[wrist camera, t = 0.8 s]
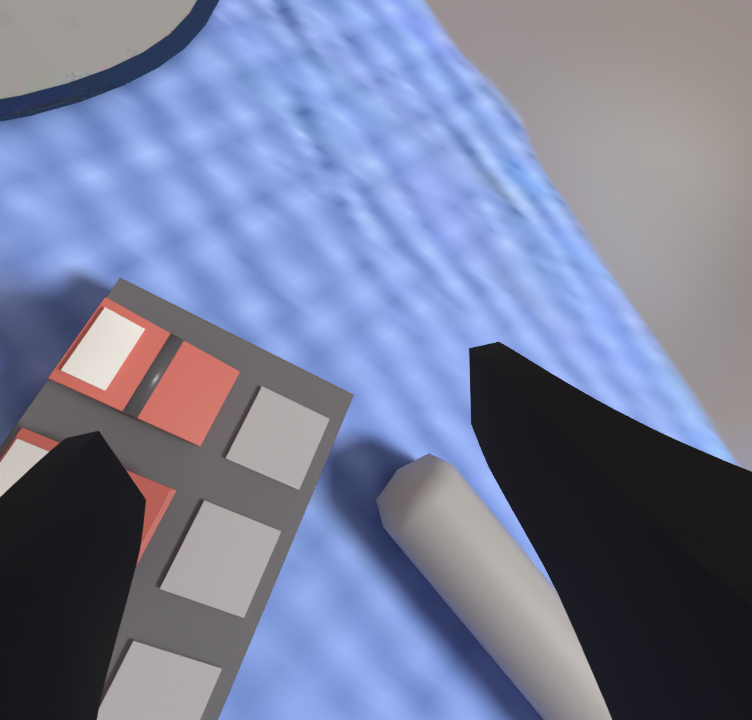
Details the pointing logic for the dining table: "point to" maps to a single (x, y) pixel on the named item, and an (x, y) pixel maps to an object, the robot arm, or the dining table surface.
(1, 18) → the sun hat
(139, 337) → the rocker
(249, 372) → the switch panel
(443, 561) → the tube
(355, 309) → the dining table surface
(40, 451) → the rocker
